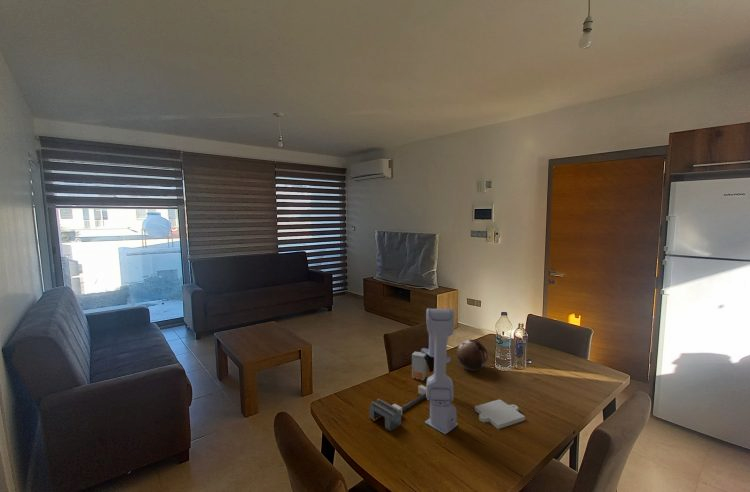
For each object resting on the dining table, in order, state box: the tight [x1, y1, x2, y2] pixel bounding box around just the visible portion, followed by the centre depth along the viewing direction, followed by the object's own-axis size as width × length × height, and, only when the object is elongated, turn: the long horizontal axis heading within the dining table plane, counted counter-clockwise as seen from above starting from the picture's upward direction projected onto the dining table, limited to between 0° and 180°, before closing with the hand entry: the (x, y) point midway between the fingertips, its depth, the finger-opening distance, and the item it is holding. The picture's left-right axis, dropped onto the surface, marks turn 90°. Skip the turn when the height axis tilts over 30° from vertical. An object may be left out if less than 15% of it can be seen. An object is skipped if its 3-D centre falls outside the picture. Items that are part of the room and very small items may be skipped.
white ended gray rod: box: [391, 384, 426, 416], centre depth 136 cm, size 8×24×3 cm, turn 133°
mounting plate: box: [474, 398, 526, 430], centre depth 129 cm, size 18×13×2 cm
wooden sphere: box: [456, 339, 489, 372], centre depth 167 cm, size 15×15×15 cm
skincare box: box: [411, 351, 427, 381], centre depth 159 cm, size 6×4×12 cm
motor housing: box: [369, 398, 402, 432], centre depth 126 cm, size 11×6×6 cm, turn 43°
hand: (435, 373), depth 147 cm, fingers open, 4 cm apart
